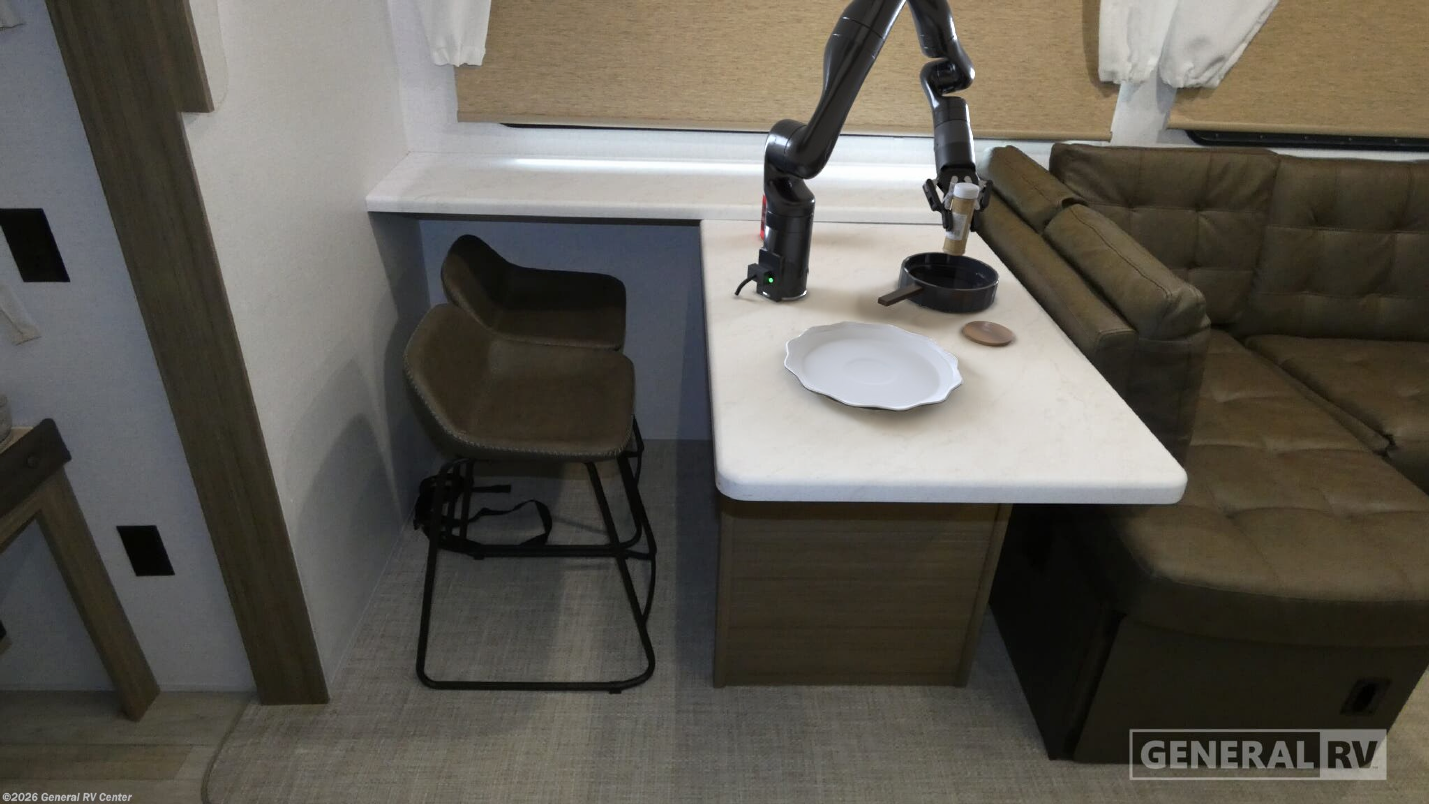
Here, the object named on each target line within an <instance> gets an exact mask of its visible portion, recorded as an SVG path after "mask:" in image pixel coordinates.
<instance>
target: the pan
mask: <svg viewBox="0 0 1429 804" xmlns="http://www.w3.org/2000/svg"><path fill="white" fill-rule="evenodd" d="M899 269H900V270H899V275H898V281H897V290H899V289H901V288H904V287H906V286H909V285H911V284H914V283H915V284H917V285H919V286H922V287H923V291H922V293H920V294H918V295H915V296H913V297H910V298H908V299H907V300H908V301H909V302H911V303H913V304H915V305H918V306H920V307H923V308H926V309H930V310H933V311H938V312H944V313H953V314H967V313H976V312H980V311H981V312H982V311H984V310H986V309H988V308H990V307H991V306H992V305H993V304H994V302H995V298H996V294H997V290H998V286H999V281H1000V275H999V273H998V271H997V270H996V269H995V268H993V267H992V265H989V264H988V263H986V262H984V261H983V260H980V259H977V258H974V257H971V256H967V255H965V254H963V255H960V256H954V255H949V254H946V253H945V252H943V251H926V252H918V253H915V254H911V255H908V256H907V257H905V258H904V259H903V260H902V262H901V264H900V268H899Z"/></svg>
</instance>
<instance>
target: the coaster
mask: <svg viewBox="0 0 1429 804" xmlns="http://www.w3.org/2000/svg"><path fill="white" fill-rule="evenodd" d="M962 333H963V335H964V336H965V337H966V338H967V339H968V340H970V341H972V342H975V343H976V344H980V345H984V346H991V347H1001V346H1007V345H1009V344H1010V343H1012V341H1013V340H1014V333H1013V331H1011V329H1009V328H1008V327H1006V326H1004V325H1002V324H999V323H997V322H993V321H987V320H974V321H973V320H972V321H969V322H967V323H965V324H964V325H963V328H962Z"/></svg>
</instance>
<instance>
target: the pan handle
mask: <svg viewBox="0 0 1429 804" xmlns="http://www.w3.org/2000/svg"><path fill="white" fill-rule="evenodd" d="M922 291H923V287H922V286H919V285H917V284H915V283H914V284H911V285H909V286H906V287H904V288H901V289H899V290H898V289H896V290H894V291H891V292H888V293H886V294H884V295H881V296H879V297H878V298H877V303H876V304H878V305H880V306H883V307H885V308H888V307H891V306H893V305H895V304H898V303H900V302H903V301H905V300H908V298H910V297H913V296H915V295H918V294H920V293H922Z"/></svg>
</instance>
